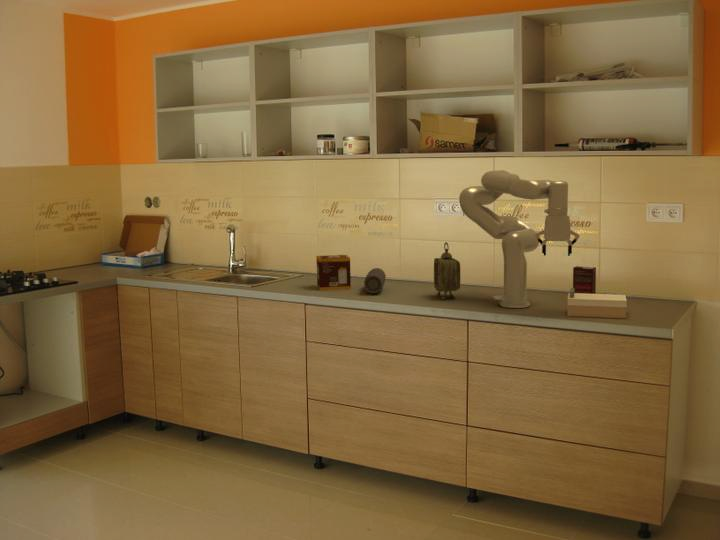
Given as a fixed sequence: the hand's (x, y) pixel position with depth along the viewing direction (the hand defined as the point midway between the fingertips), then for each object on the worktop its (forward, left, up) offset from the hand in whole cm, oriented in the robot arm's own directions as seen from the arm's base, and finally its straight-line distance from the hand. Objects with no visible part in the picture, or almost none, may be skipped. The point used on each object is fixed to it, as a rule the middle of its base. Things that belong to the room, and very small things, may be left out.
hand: (556, 255), depth 318 cm
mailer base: (+16, 0, -23) cm, 28 cm away
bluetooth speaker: (-84, +33, -24) cm, 93 cm away
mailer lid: (+16, 0, -19) cm, 25 cm away
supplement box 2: (+11, +20, -24) cm, 33 cm away
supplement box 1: (-106, +37, -24) cm, 115 cm away
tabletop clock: (-48, +23, -24) cm, 58 cm away
